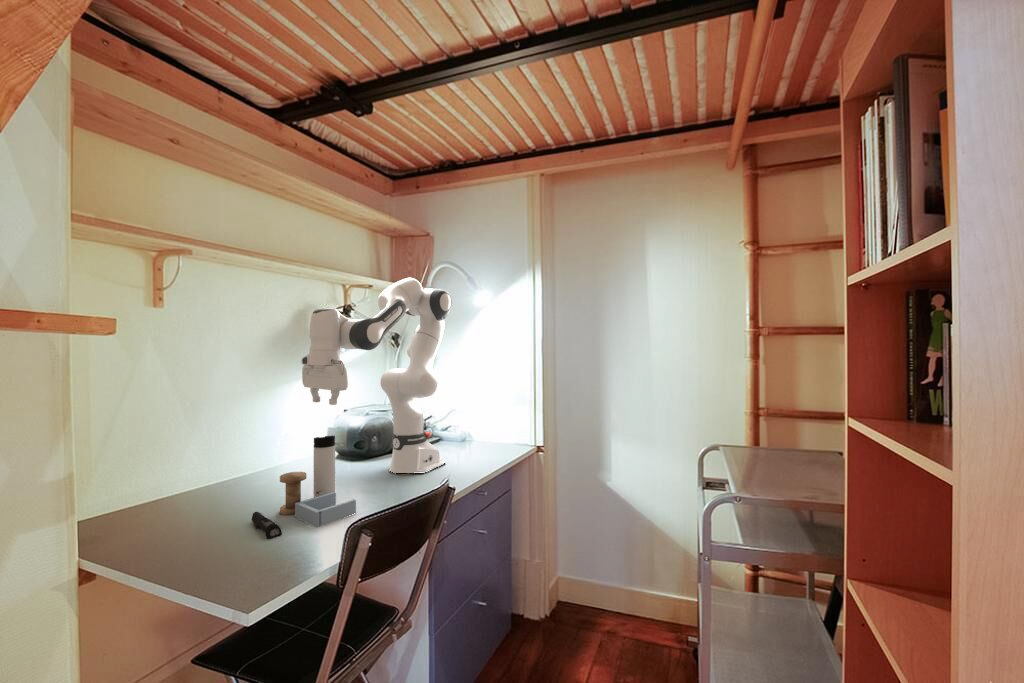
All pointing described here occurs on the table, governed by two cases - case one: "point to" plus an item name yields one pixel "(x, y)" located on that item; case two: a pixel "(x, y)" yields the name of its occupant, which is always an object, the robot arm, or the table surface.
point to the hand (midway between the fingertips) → (324, 403)
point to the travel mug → (324, 465)
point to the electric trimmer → (266, 525)
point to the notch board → (323, 509)
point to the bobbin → (292, 491)
